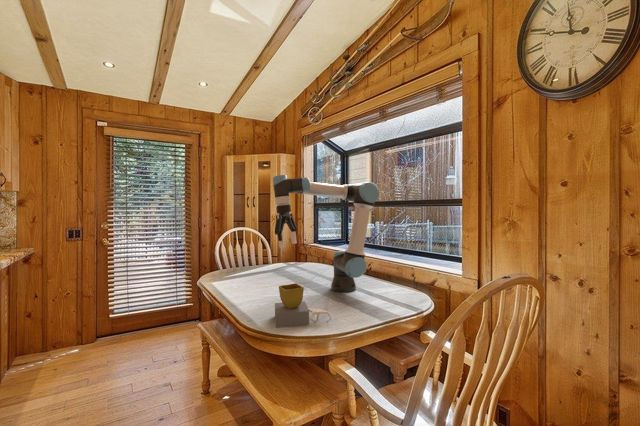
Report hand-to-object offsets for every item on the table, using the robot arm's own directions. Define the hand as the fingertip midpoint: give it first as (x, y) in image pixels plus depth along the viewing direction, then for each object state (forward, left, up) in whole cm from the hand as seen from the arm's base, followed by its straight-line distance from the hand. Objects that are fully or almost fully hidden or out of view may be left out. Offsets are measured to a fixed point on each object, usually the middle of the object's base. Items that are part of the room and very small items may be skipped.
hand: (288, 245), depth 163 cm
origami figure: (-11, +30, -30) cm, 44 cm away
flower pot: (+1, +26, -24) cm, 35 cm away
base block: (+1, +26, -30) cm, 40 cm away
